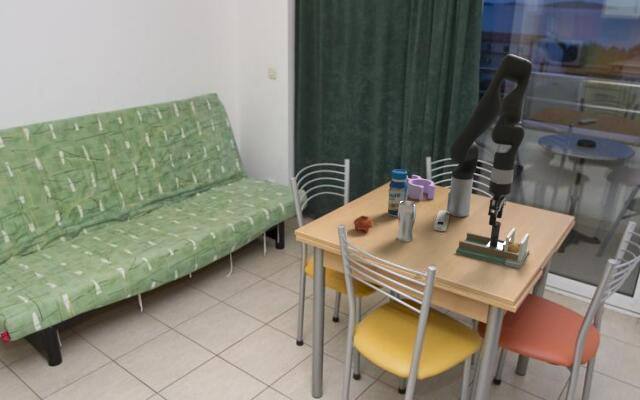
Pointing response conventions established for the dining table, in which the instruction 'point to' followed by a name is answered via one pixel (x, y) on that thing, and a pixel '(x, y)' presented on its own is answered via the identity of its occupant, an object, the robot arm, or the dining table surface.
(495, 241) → the slider
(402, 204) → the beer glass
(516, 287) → the dining table surface
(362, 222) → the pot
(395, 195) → the beverage bottle
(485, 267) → the dining table surface
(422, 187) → the clip
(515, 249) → the ball
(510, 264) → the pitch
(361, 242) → the dining table surface
